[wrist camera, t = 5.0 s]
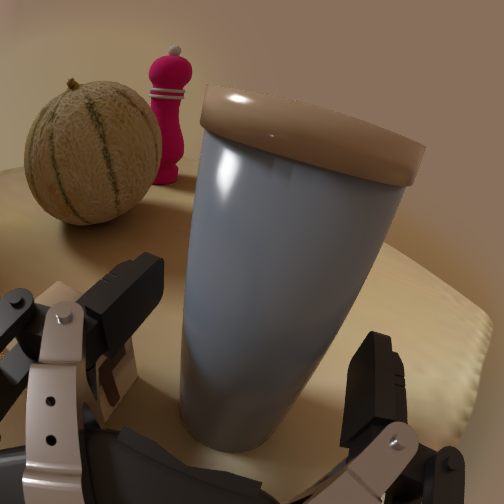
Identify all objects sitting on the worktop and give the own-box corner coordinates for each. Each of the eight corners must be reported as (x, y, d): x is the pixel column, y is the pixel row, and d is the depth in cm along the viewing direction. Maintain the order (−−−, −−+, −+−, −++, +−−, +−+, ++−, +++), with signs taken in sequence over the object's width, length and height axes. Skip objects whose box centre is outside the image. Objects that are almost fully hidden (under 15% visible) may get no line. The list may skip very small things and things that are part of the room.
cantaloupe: (180, 209, 33) (198, 80, 26) (97, 274, 21) (96, 75, 13) (91, 183, 35) (97, 77, 28) (9, 226, 23) (0, 87, 15)
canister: (158, 428, 12) (158, 79, 5) (201, 354, 17) (246, 90, 10) (266, 468, 12) (462, 165, 4) (289, 385, 16) (399, 134, 9)
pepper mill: (154, 167, 45) (172, 48, 35) (189, 178, 43) (211, 49, 33) (123, 177, 39) (139, 43, 29) (159, 190, 37) (180, 41, 27)
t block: (29, 391, 11) (-6, 335, 9) (75, 340, 15) (58, 280, 13) (97, 443, 11) (67, 400, 8) (141, 379, 15) (133, 321, 12)
